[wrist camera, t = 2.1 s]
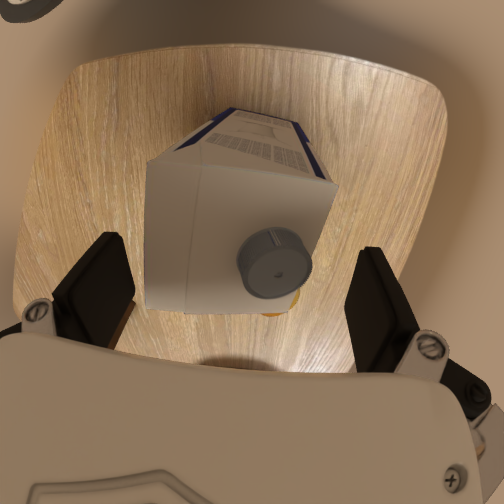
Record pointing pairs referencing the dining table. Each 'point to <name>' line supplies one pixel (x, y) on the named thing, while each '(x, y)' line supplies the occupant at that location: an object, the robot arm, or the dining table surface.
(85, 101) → the dining table surface
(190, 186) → the milk carton
